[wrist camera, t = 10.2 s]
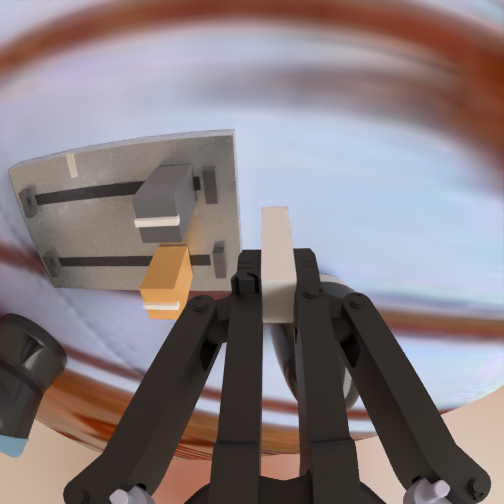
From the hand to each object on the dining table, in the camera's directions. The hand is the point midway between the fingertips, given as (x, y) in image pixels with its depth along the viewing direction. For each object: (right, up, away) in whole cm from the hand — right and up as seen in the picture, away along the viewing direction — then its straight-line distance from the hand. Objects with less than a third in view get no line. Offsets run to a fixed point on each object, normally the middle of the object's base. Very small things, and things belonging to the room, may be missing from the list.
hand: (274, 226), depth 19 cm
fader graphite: (-8, +4, +6) cm, 11 cm away
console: (-14, +2, +11) cm, 18 cm away
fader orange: (-9, -3, +11) cm, 14 cm away
